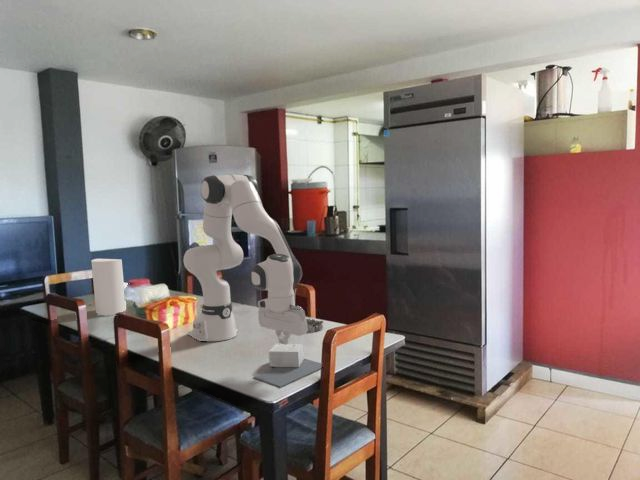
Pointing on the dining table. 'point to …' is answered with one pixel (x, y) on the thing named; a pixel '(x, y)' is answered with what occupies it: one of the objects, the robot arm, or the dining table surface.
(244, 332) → the dining table surface
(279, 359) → the small box
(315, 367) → the slate mat
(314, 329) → the egg carton
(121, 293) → the cylinder
